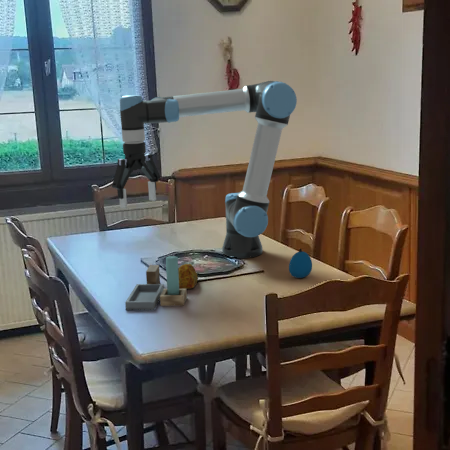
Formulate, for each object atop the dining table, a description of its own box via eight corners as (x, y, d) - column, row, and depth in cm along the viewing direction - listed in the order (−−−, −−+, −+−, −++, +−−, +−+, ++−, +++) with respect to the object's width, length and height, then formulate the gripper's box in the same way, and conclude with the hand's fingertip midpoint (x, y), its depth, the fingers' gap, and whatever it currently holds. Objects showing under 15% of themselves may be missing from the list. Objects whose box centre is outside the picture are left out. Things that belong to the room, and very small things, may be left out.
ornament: (308, 274, 234) (308, 245, 232) (314, 277, 230) (314, 248, 228) (286, 277, 232) (285, 248, 229) (292, 281, 227) (292, 252, 225)
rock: (171, 298, 227) (169, 271, 232) (195, 299, 229) (194, 272, 234) (178, 283, 218) (176, 255, 223) (204, 285, 220) (202, 257, 225)
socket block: (186, 297, 215) (186, 288, 214) (183, 305, 208) (183, 296, 208) (164, 297, 216) (163, 288, 215) (160, 305, 209) (160, 296, 208)
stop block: (160, 282, 231) (159, 265, 229) (156, 289, 224) (155, 271, 222) (151, 282, 231) (150, 265, 229) (147, 289, 224) (146, 271, 223)
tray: (163, 291, 221) (163, 284, 221) (154, 310, 205) (153, 302, 205) (137, 291, 222) (136, 284, 222) (125, 310, 206) (125, 302, 205)
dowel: (180, 299, 214) (178, 256, 210) (178, 303, 210) (176, 259, 207) (169, 299, 214) (166, 256, 211) (167, 303, 210) (164, 259, 207)
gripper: (152, 137, 244) (156, 196, 249) (97, 146, 226) (103, 209, 231) (167, 138, 239) (171, 198, 244) (113, 147, 221) (118, 212, 226)
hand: (138, 204), depth 238 cm, fingers open, 13 cm apart
